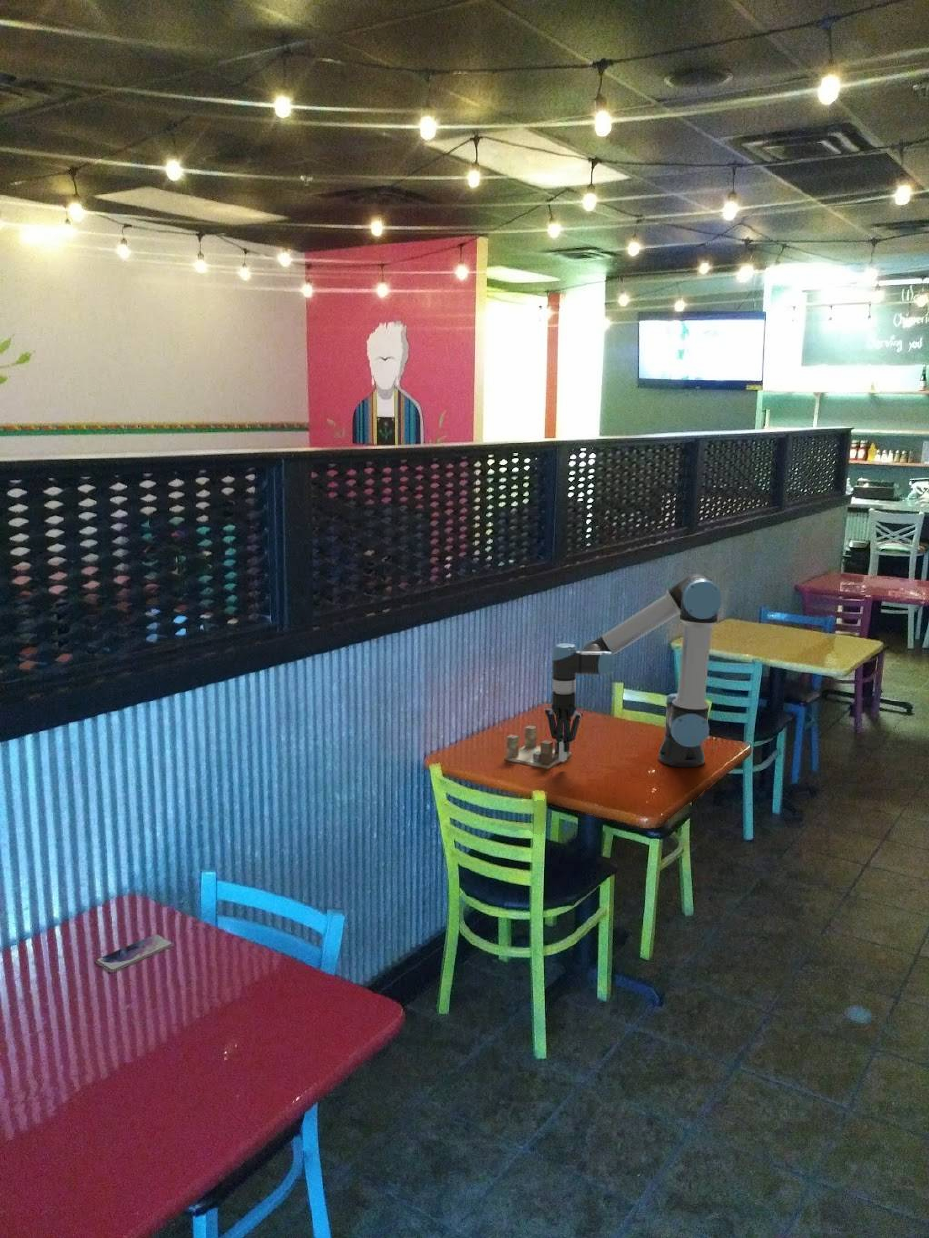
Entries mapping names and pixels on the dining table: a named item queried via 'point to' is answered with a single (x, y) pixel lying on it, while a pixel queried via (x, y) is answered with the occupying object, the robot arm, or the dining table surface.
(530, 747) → the stool seat
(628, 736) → the dining table surface
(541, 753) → the hinged leg
